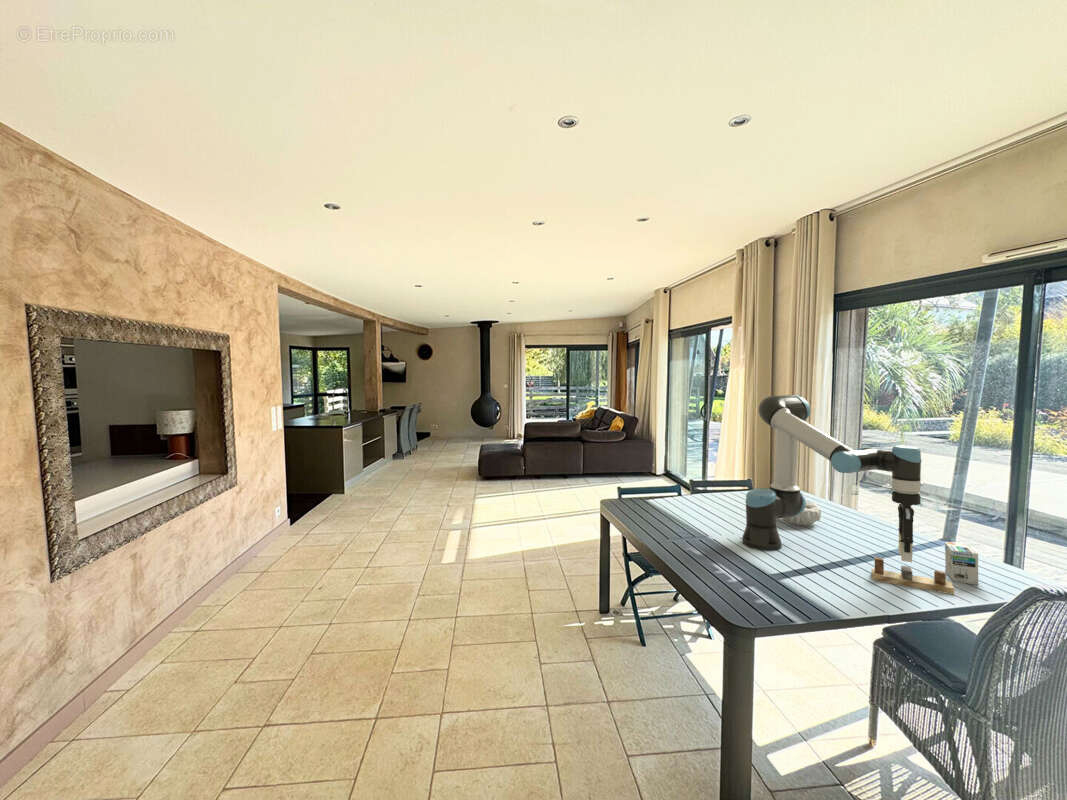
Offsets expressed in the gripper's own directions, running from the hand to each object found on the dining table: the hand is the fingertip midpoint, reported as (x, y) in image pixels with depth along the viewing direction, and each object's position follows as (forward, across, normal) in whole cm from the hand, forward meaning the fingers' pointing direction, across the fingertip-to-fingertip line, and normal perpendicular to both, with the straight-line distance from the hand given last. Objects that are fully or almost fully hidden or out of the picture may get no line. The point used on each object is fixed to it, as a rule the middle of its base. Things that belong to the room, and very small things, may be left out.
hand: (905, 557), depth 152 cm
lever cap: (-1, 0, 0) cm, 1 cm away
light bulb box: (+9, +15, -16) cm, 24 cm away
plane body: (+9, 0, -2) cm, 9 cm away
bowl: (+10, +58, +36) cm, 69 cm away
